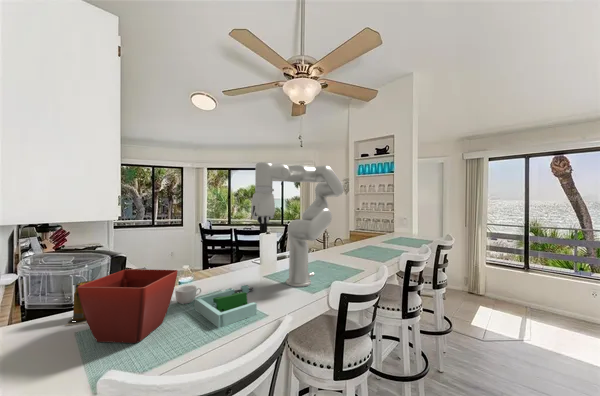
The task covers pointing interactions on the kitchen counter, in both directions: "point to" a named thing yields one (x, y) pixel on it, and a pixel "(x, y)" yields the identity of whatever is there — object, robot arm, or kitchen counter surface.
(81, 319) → the condiment
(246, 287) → the clip
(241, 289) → the cable
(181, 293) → the teacup
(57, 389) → the kitchen counter surface
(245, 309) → the end holder
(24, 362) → the kitchen counter surface
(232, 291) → the clip
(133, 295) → the plant pot
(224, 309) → the clamp
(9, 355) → the kitchen counter surface
